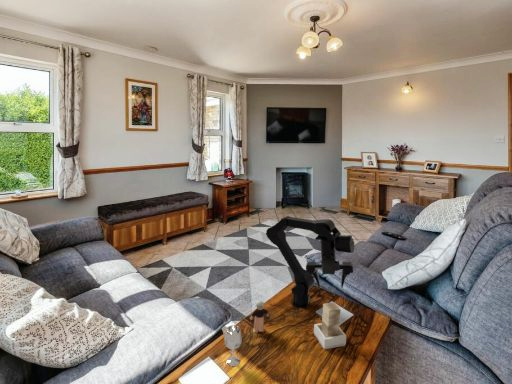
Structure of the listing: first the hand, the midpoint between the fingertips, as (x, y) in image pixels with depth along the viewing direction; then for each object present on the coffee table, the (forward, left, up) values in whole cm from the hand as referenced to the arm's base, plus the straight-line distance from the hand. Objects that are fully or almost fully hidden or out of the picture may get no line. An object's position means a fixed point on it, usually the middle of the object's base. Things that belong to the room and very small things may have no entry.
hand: (330, 287), depth 120 cm
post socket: (+2, -15, -13) cm, 20 cm away
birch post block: (+2, -15, -12) cm, 20 cm away
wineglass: (-27, -38, -13) cm, 48 cm away
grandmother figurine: (-24, -20, -13) cm, 34 cm away
